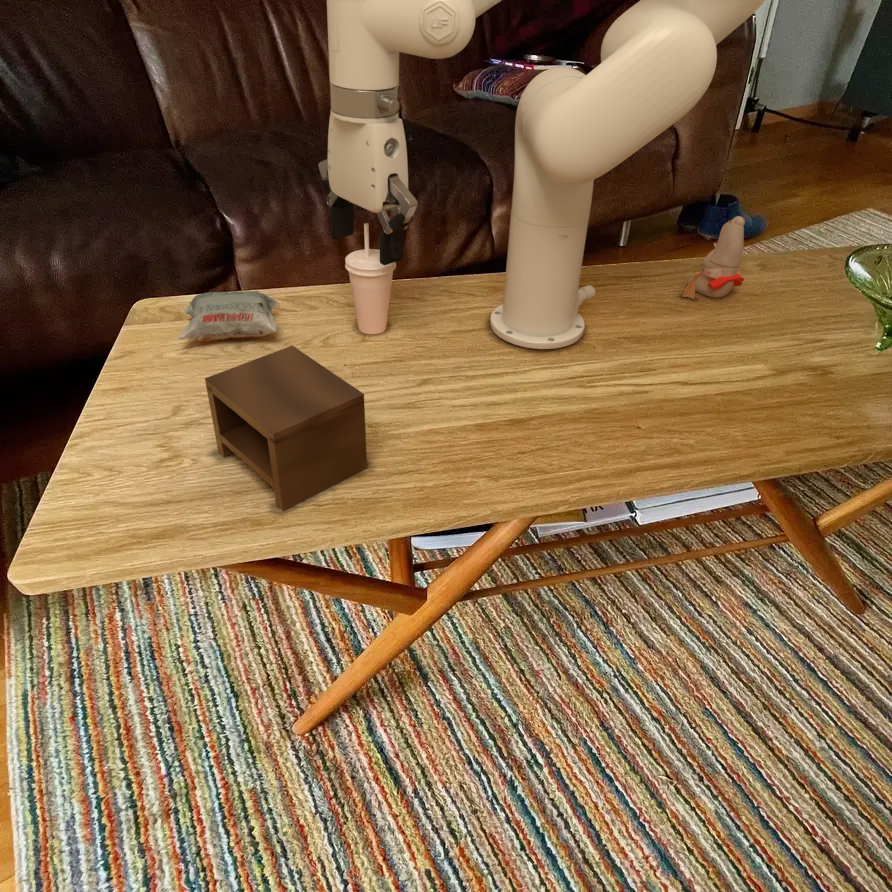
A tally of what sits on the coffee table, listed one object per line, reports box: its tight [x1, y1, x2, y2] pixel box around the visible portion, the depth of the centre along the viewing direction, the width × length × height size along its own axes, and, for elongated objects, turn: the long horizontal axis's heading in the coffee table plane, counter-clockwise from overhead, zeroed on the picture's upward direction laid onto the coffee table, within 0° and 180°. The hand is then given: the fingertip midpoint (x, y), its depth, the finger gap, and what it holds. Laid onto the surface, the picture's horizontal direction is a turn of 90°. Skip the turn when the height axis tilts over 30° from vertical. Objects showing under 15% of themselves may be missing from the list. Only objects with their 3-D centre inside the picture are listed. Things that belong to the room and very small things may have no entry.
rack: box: [204, 345, 368, 512], centre depth 75 cm, size 10×12×9 cm
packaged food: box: [178, 290, 278, 342], centre depth 97 cm, size 9×12×5 cm
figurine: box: [681, 215, 746, 300], centre depth 109 cm, size 9×7×12 cm
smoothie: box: [344, 222, 397, 335], centre depth 97 cm, size 6×6×14 cm
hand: (366, 248), depth 94 cm, fingers open, 9 cm apart
